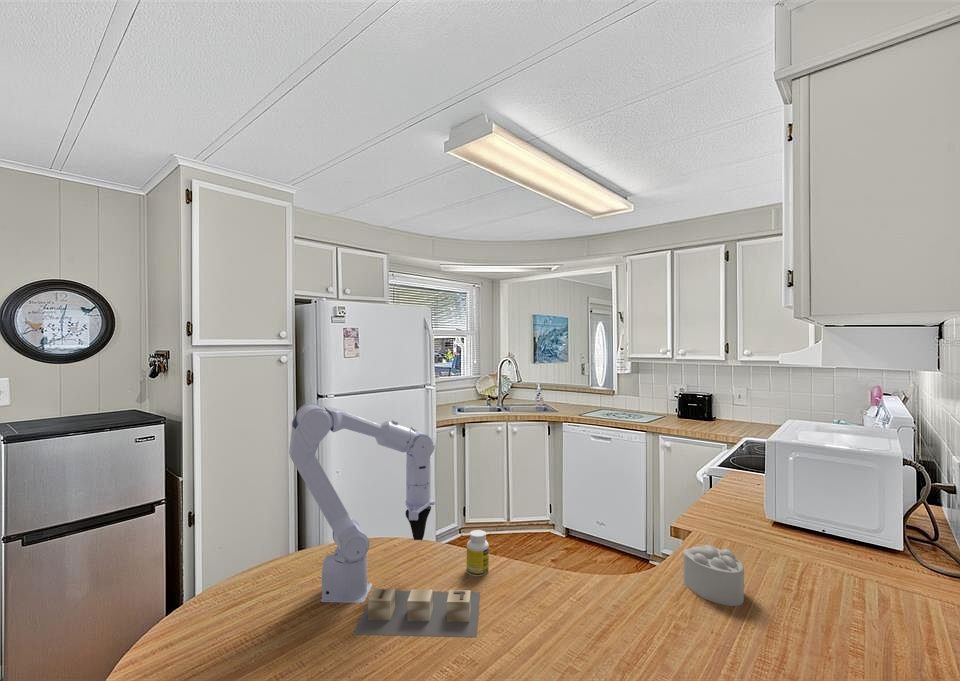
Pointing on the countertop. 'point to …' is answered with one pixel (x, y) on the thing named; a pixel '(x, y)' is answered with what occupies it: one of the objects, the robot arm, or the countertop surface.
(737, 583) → the lumpy-topped squat cylinder
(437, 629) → the charcoal mat
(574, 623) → the countertop surface
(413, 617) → the plain birch block
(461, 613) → the numbered block right
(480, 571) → the supplement bottle
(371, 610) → the numbered block left
